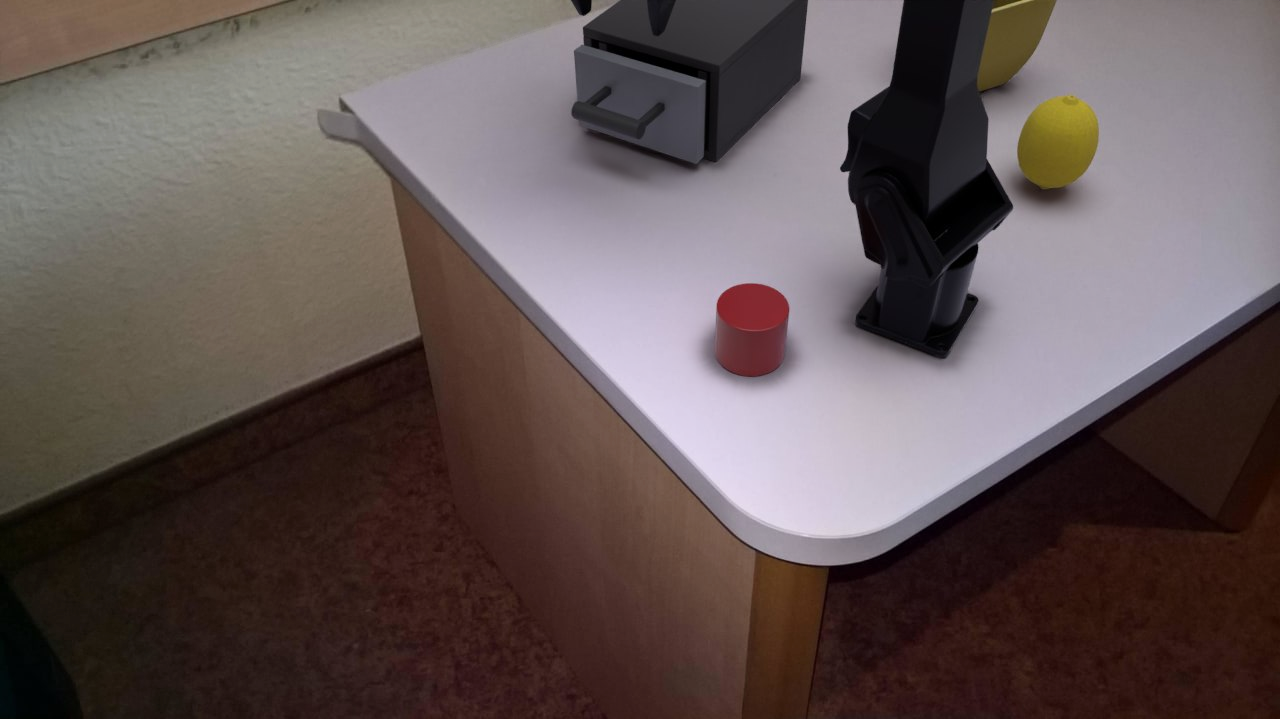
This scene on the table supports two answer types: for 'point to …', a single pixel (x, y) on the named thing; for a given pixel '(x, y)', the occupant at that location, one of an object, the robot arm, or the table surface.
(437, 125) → the table surface
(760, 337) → the cylinder
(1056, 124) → the lemon
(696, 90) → the pod drawer
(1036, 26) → the flower pot
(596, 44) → the small drawer cabinet
